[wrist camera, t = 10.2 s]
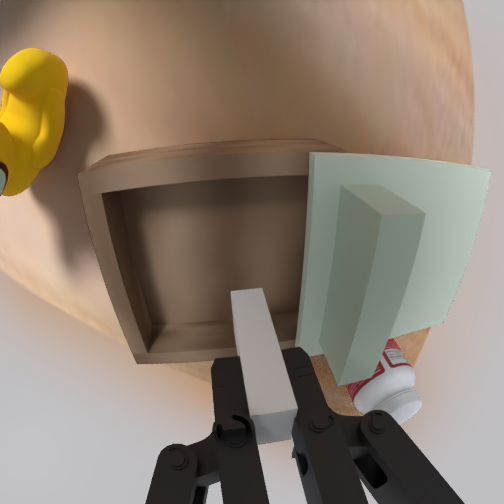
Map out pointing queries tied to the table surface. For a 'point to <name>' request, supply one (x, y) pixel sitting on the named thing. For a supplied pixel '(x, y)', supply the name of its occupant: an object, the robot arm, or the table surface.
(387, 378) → the pill bottle
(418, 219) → the lid
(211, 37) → the table surface
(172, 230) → the box
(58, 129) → the duckling
